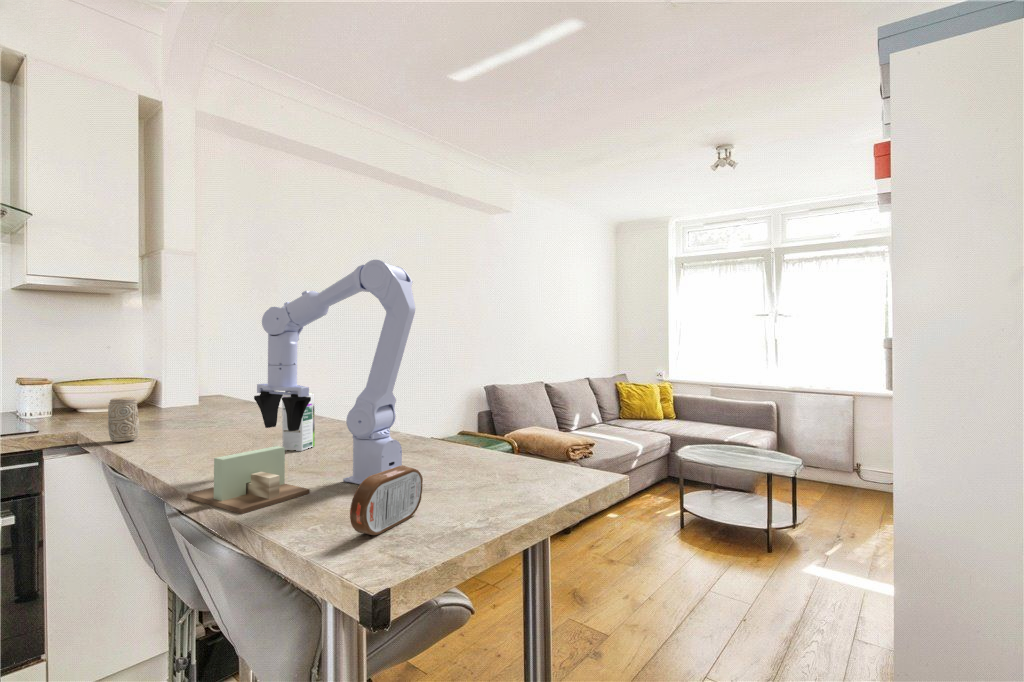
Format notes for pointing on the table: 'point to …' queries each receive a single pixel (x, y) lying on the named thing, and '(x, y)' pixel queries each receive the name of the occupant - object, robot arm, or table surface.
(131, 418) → the carving
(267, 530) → the table surface
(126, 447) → the table surface
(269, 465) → the sage plate
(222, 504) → the slotted base
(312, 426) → the syrup box
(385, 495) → the tin
